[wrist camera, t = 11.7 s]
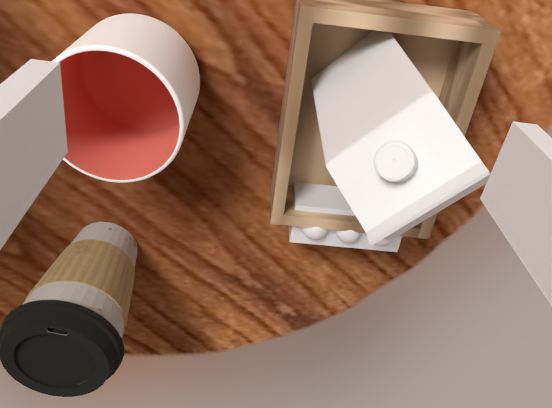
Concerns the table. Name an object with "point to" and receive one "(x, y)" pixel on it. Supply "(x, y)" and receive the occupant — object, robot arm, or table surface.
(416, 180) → the milk carton
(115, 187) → the table surface
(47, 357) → the coffee cup
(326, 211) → the egg box
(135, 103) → the cup
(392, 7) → the crate
